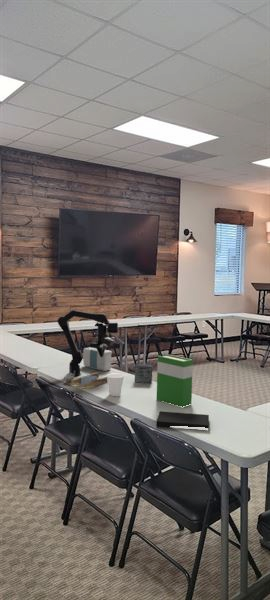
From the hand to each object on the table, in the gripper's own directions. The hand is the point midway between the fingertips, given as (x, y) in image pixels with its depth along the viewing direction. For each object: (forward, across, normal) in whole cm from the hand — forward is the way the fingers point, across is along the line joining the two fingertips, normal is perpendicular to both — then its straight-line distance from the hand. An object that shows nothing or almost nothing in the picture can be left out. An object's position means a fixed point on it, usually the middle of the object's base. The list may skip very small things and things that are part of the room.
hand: (101, 357), depth 288 cm
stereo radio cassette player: (+12, +13, +14) cm, 23 cm away
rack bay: (+12, -17, -7) cm, 22 cm away
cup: (+12, -29, -33) cm, 46 cm away
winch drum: (+12, -25, +4) cm, 28 cm away
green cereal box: (+12, -20, -65) cm, 69 cm away
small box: (+12, +4, -30) cm, 33 cm away
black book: (+13, -44, -84) cm, 96 cm away
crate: (+12, -21, -7) cm, 25 cm away
